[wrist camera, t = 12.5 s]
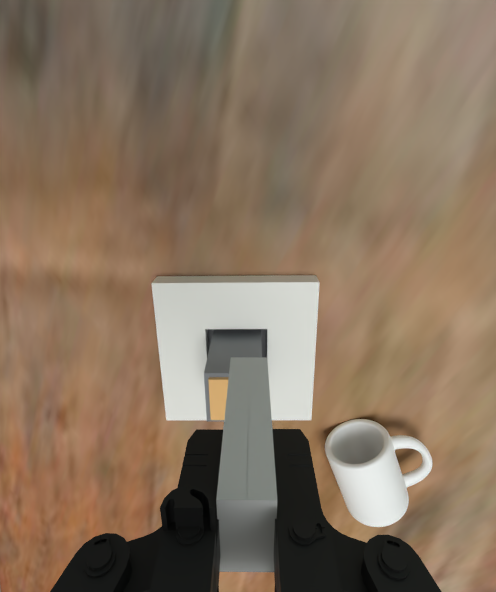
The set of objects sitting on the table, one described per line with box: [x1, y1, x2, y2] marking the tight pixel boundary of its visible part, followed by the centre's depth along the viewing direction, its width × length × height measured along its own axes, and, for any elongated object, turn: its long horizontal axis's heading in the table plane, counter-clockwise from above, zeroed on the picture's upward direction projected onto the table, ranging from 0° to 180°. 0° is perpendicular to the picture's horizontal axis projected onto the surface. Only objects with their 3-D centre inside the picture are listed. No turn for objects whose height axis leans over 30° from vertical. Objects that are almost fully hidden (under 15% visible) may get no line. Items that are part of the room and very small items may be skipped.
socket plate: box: [152, 275, 319, 420], centre depth 44 cm, size 18×18×3 cm
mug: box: [325, 419, 432, 527], centre depth 46 cm, size 12×10×8 cm
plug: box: [204, 329, 262, 421], centre depth 40 cm, size 6×6×10 cm
